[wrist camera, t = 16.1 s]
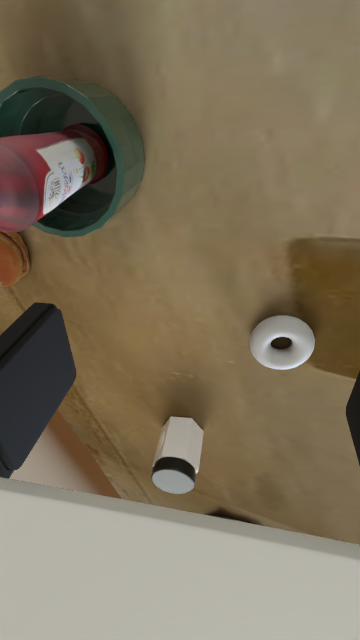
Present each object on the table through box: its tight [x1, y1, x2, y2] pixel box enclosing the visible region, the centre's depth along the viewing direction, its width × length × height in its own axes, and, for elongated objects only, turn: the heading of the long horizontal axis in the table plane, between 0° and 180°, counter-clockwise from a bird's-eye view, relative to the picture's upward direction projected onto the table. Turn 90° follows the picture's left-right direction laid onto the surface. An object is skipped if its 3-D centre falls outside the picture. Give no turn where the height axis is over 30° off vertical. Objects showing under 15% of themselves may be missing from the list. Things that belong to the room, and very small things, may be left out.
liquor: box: [0, 124, 108, 233], centre depth 32 cm, size 7×7×28 cm
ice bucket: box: [0, 76, 145, 237], centre depth 40 cm, size 16×16×10 cm
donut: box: [250, 315, 315, 369], centre depth 54 cm, size 10×4×10 cm
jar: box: [151, 416, 203, 494], centre depth 67 cm, size 9×8×12 cm
